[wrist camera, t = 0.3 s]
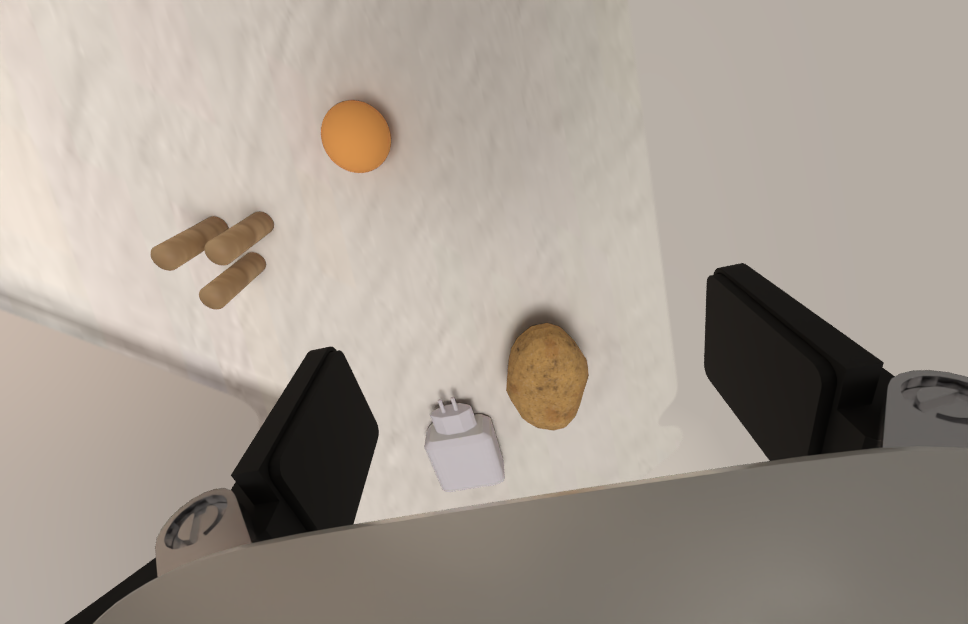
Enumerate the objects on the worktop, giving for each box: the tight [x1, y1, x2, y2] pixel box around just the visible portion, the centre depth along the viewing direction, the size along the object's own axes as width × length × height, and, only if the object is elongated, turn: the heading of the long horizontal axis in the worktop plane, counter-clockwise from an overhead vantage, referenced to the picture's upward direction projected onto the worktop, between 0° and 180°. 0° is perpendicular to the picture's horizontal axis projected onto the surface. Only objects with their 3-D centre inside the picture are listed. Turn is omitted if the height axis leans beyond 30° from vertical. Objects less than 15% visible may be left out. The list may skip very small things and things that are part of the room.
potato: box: [506, 323, 589, 430], centre depth 50 cm, size 10×14×8 cm
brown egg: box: [321, 100, 391, 173], centre depth 38 cm, size 6×6×6 cm
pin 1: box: [151, 216, 228, 271], centre depth 41 cm, size 2×2×8 cm
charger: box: [424, 397, 505, 492], centre depth 58 cm, size 5×9×15 cm
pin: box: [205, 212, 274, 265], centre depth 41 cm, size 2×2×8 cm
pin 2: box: [199, 252, 266, 309], centre depth 43 cm, size 2×2×8 cm
